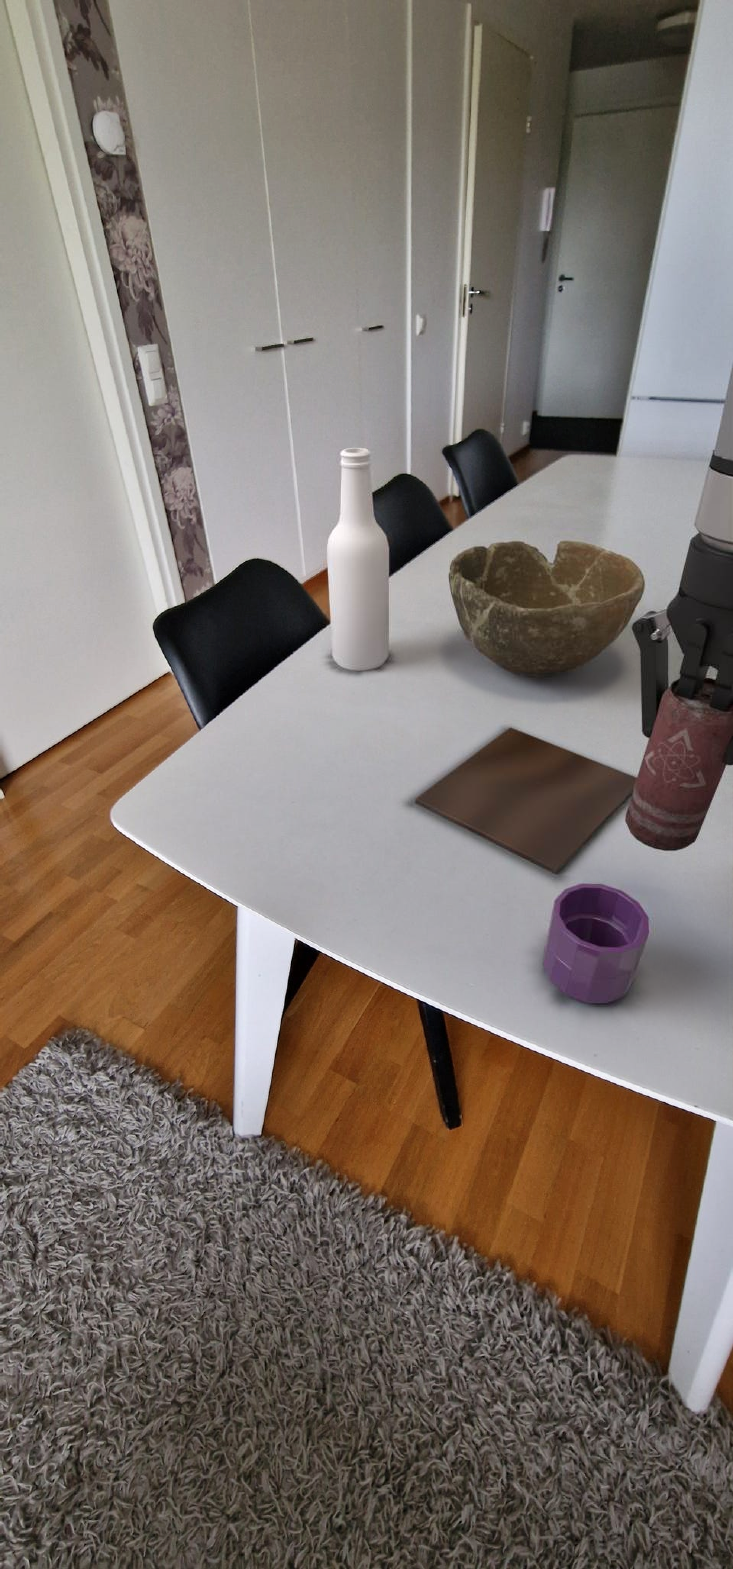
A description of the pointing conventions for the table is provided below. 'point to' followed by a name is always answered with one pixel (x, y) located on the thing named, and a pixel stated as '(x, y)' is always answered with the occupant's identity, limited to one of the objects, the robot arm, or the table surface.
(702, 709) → the can
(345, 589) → the alcohol
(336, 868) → the table surface
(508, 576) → the bowl
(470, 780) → the placemat
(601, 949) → the purple faceted cup
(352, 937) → the table surface
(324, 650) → the table surface
